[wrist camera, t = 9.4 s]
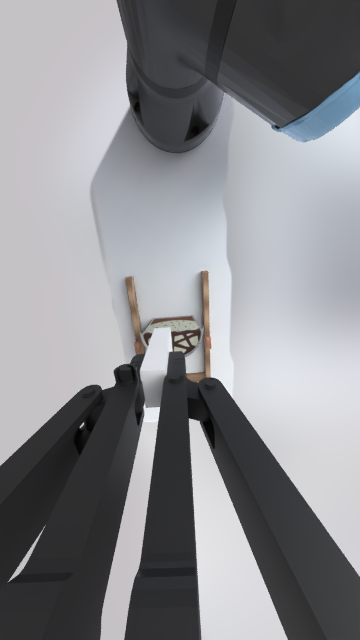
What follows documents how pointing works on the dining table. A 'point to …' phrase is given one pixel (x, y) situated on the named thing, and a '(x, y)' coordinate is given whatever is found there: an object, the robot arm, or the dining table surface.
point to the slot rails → (207, 340)
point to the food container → (177, 333)
